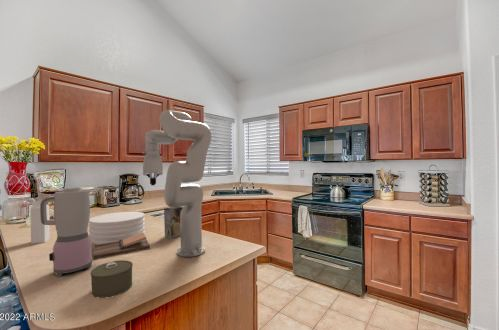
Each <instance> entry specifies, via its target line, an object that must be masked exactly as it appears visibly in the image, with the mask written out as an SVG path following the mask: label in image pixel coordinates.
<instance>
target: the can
mask: <svg viewBox="0 0 499 330" xmlns="http://www.w3.org/2000/svg"><path fill="white" fill-rule="evenodd" d="M90 276H91V277H90V278H91V281H90V282H91V285H90V286H91V295H93V296H94V297H93V296H92V297H93V298H96V297H99V298H98V299H107V298H106V297H108V298H112V296H113V297H116V296H119V295H121V294H124V293H125V292H128V290H131V288H132V286H133V262H132V261H130V260H124V259H123V260H121V259H120V260H114V261H113V260H112V261H108V262H105V263H102V264H100V265H99V264H98V265H97V266H95V267H93V269H92V270H90Z"/></svg>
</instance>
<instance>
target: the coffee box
mask: <svg viewBox="0 0 499 330" xmlns="http://www.w3.org/2000/svg"><path fill="white" fill-rule="evenodd" d="M183 207H184V206H178V207H166V208H165V207H164V208H163V213H164V214H163V221H164V237H165V238H169V239H173V238H177V237H179V236H180V237H181V233H180V214H181V211H182V209H183Z"/></svg>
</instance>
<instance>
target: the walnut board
mask: <svg viewBox="0 0 499 330" xmlns="http://www.w3.org/2000/svg"><path fill="white" fill-rule="evenodd" d="M120 241H121V240H119V241H118V242H112V243H106V244H94V246H93V252H92V253H93V255H92V260H95V259H101V258H107V257H111V256H118V255H123V254H128V253H133V252H139V251H144V250H150V249H151V246H150V243H149V241H148V240H147V238H146V239H145V240H142V241H140V242H137V243H134V244H132V245H129V246H127V247H125V246H121V243H120ZM122 241H123V239H122ZM123 245H124V244H123Z"/></svg>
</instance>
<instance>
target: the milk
mask: <svg viewBox="0 0 499 330" xmlns="http://www.w3.org/2000/svg"><path fill="white" fill-rule="evenodd" d="M41 202H42V200H39V201H34V200H33V201H32V206H31V207H30V211H29V212H30V245H32V244H33V245H34V244H41V243H42V244H43V243H46V242H48V241H49V240H50V238H51V237H50V235H51V233H50V225H44V224H42V223H41V216H40V204H41ZM46 212H47V220H50V205H49V204H48V203H47V204H46Z"/></svg>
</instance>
